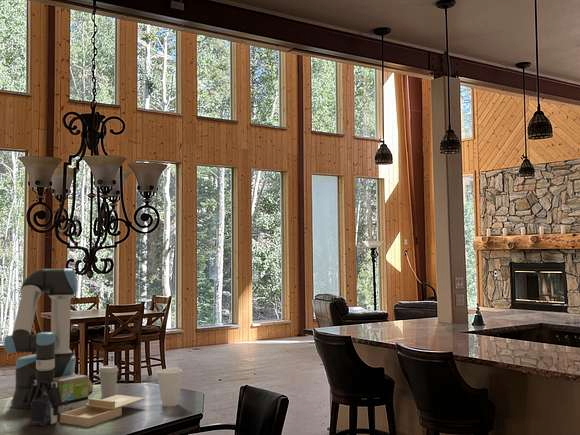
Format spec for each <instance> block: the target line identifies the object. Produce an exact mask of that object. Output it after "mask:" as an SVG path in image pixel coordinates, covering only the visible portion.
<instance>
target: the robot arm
mask: <svg viewBox="0 0 580 435" xmlns="http://www.w3.org/2000/svg"><path fill="white" fill-rule="evenodd" d="M76 274H77V273H76V270H74V269H73V268H68V267H67V268H66V267H65V268H40V269H36V270H34V271H33V272H32V273H30V274H29V275H27V277H26V278H25V280H24V281H23V282H22V285H21V287H20V289H19V290H20V291H19V293H20V295H21V297H20V300H19V305H18V308H17V309H18V310H17V314H16V318H15V321H14V326H13V330H12V334H11V335H7V336H6V337H5V338H4V342H3V344H4V345H3V348H4V351H5V353H7V354H17V353H18V354H19V353H32V354H28V355H24V356H20V357H19V358H17V359H16V362H15V368H14V369H15V388H14V389H15V390H14V393H13V396H12V399H11V401H10V406H11V407H12V408H14V409H31V405H32V400H34V399H37V398H39V397H42V396H44V395H48V397H49V399H50V402H51V404H52V408H51V423H50V424H51V425H53V424H56V423H58V415H59V413H58V407H59V406H62V401H61V396H60V391H59V383H58V382H57V383H54V382H53V378H58V377H63V376H68V375H73V374H75V368H76V362H77V361H76V359H77V357H76V355H73V351H72V350H71V349H70V340H71V339H70V333H71V332H70V331H71V299H72V298H73V297H75V293H77V292H78V280H77V275H76ZM43 293H48V297H49V298H50V299H51V321H50V324H51V325H50V331H43V332H38V333H37V334H31V333H32V330H33V325H34V320H35V315H36V311H37V305H38V301H39V298H40V297H42V294H43ZM33 353H34V354H33ZM50 389H51V390H50Z"/></svg>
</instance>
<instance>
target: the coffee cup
mask: <svg viewBox="0 0 580 435" xmlns="http://www.w3.org/2000/svg"><path fill="white" fill-rule="evenodd" d="M119 371H120V370H119V368H118V366H117V365H113V364H111V365H104V366H100V368H99V369H98V373H99V380H100V390H101V398H102V399H105V398H108V397H111V396H115V395H117V382H118V374H119V373H118V372H119Z"/></svg>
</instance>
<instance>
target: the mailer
mask: <svg viewBox="0 0 580 435" xmlns="http://www.w3.org/2000/svg"><path fill="white" fill-rule="evenodd" d="M122 409H123V407H119V408H116V409H108V408H101V407H94V406H85V407H82V408H78V409H75V410H72V411H69V412H65V413H62V414H60V413H59V414H60V416H59V417H60V418H59V419H60V420H59V422H60V423H62V424H69V425H75V426H82V427H92V426H94V425H97V424H100V423H103V422H106V421H109V420H112V419H114V418H118V417H121V416H122V414H123V412H122Z"/></svg>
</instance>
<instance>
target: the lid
mask: <svg viewBox="0 0 580 435" xmlns="http://www.w3.org/2000/svg"><path fill="white" fill-rule="evenodd" d="M144 400H146V397H139V396H131V395H124V394H115V396H111V397H108V398H105V399H104V398H102V399H99V398H94V397H93V398H92V397H90V398H88V404H86V405H87V406H94V407H101V408H108V409H116V408H119V407H122V408H123V407H126V406H128V405H132V404H135V403H137V402H141V401H144Z"/></svg>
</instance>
